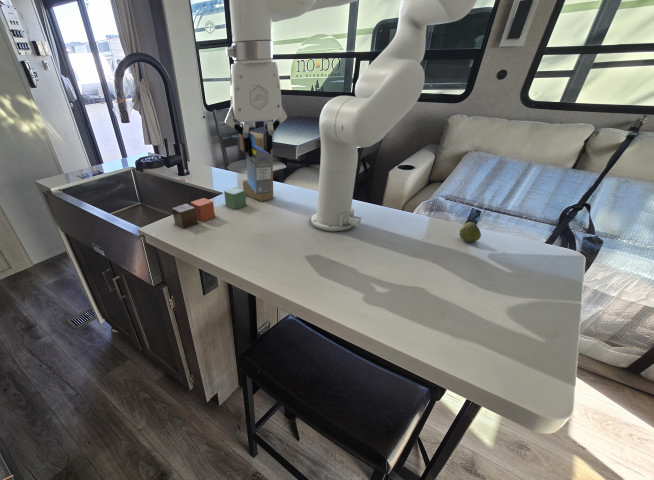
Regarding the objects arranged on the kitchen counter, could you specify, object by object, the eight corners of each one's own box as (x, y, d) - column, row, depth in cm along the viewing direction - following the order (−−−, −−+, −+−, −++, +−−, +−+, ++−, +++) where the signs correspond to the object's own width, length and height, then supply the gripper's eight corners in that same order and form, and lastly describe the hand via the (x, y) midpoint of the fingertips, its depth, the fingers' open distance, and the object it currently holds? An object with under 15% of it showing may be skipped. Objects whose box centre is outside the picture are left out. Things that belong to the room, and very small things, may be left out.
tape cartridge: (271, 192, 73) (272, 134, 65) (255, 194, 72) (254, 135, 64) (261, 181, 80) (260, 127, 72) (246, 183, 79) (244, 128, 71)
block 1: (197, 223, 95) (194, 207, 92) (183, 228, 92) (180, 212, 89) (189, 218, 98) (186, 203, 95) (175, 223, 95) (171, 208, 92)
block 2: (215, 216, 98) (212, 201, 95) (201, 221, 96) (199, 206, 93) (206, 212, 101) (203, 197, 98) (193, 217, 99) (190, 202, 96)
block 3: (246, 205, 105) (245, 190, 102) (234, 209, 102) (233, 194, 99) (237, 201, 108) (235, 187, 105) (225, 205, 105) (224, 191, 102)
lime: (458, 235, 82) (465, 217, 79) (479, 240, 80) (487, 222, 77) (454, 241, 80) (461, 223, 77) (475, 247, 77) (483, 228, 74)
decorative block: (242, 194, 114) (238, 133, 102) (255, 190, 116) (252, 131, 104) (261, 202, 107) (258, 138, 95) (274, 198, 109) (273, 135, 97)
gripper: (213, 56, 56) (225, 163, 67) (300, 51, 59) (298, 154, 70) (207, 56, 61) (219, 155, 72) (287, 52, 65) (286, 147, 76)
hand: (258, 153), depth 71 cm, fingers closed on tape cartridge, 3 cm apart
